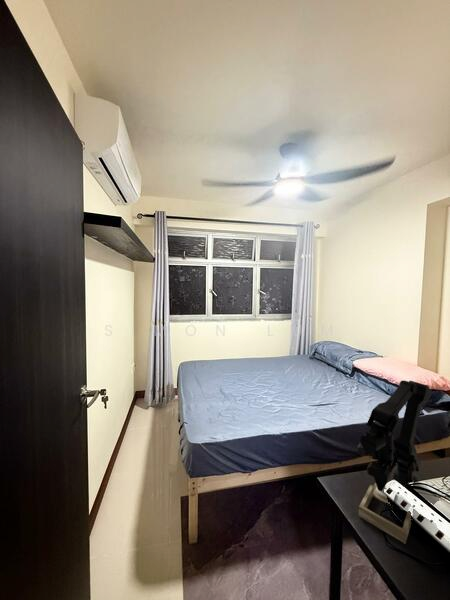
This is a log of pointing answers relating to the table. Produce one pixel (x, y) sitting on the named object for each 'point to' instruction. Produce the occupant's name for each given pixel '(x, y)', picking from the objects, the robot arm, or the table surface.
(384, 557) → the table surface
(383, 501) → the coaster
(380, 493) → the chess piece
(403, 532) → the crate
